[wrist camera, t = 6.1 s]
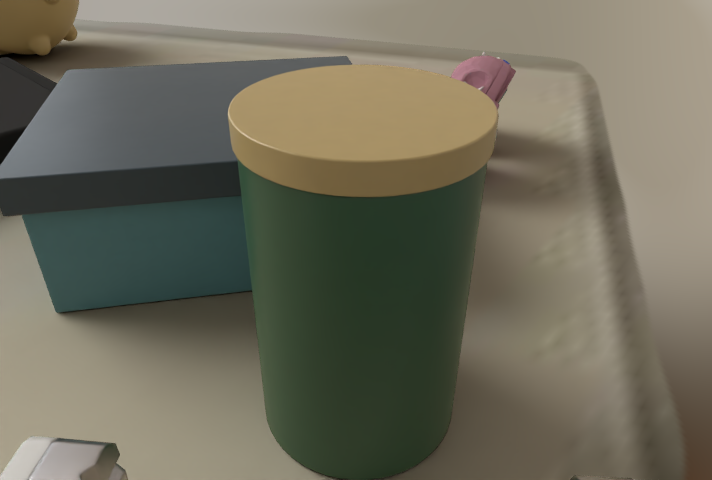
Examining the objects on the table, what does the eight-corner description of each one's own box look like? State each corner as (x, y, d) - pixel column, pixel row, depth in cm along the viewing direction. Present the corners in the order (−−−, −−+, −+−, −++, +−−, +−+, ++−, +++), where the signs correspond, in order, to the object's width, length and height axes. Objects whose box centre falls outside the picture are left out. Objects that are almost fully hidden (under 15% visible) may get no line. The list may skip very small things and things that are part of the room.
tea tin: (422, 325, 22) (447, 59, 17) (484, 464, 17) (548, 147, 12) (257, 346, 21) (225, 70, 16) (270, 502, 16) (229, 173, 11)
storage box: (347, 158, 34) (347, 55, 31) (400, 280, 24) (408, 147, 21) (95, 178, 32) (66, 69, 29) (42, 321, 22) (-12, 180, 19)
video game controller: (439, 219, 32) (516, 117, 27) (368, 173, 32) (434, 63, 27) (473, 148, 39) (537, 60, 35) (416, 111, 39) (473, 18, 35)
